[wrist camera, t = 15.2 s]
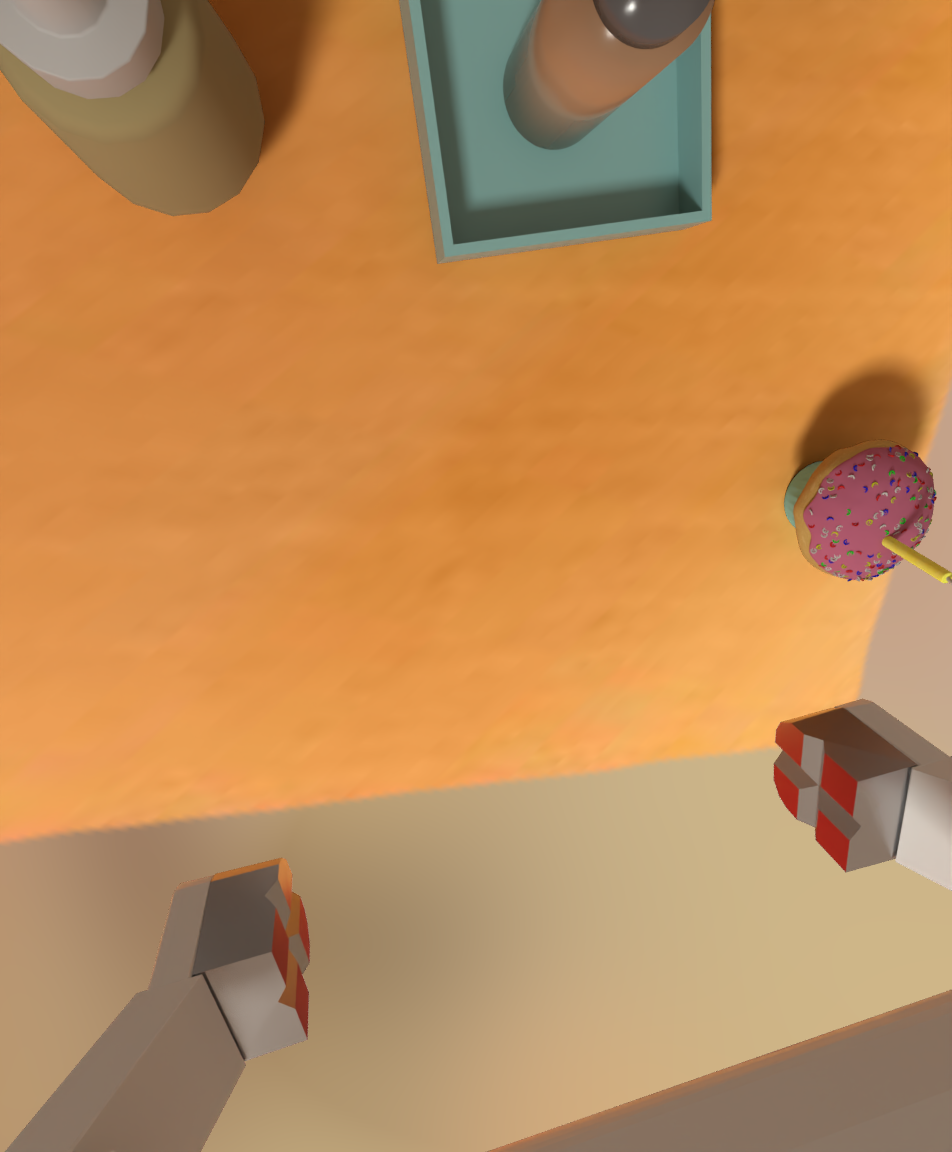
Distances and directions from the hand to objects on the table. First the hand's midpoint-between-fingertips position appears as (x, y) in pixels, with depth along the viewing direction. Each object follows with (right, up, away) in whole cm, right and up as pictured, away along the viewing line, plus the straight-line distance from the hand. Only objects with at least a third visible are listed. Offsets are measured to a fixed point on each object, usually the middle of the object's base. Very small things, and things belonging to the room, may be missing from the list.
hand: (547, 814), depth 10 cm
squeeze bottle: (-15, +25, +20) cm, 35 cm away
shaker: (+3, +28, +22) cm, 36 cm away
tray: (+3, +28, +22) cm, 36 cm away
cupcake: (+21, +9, +33) cm, 41 cm away
